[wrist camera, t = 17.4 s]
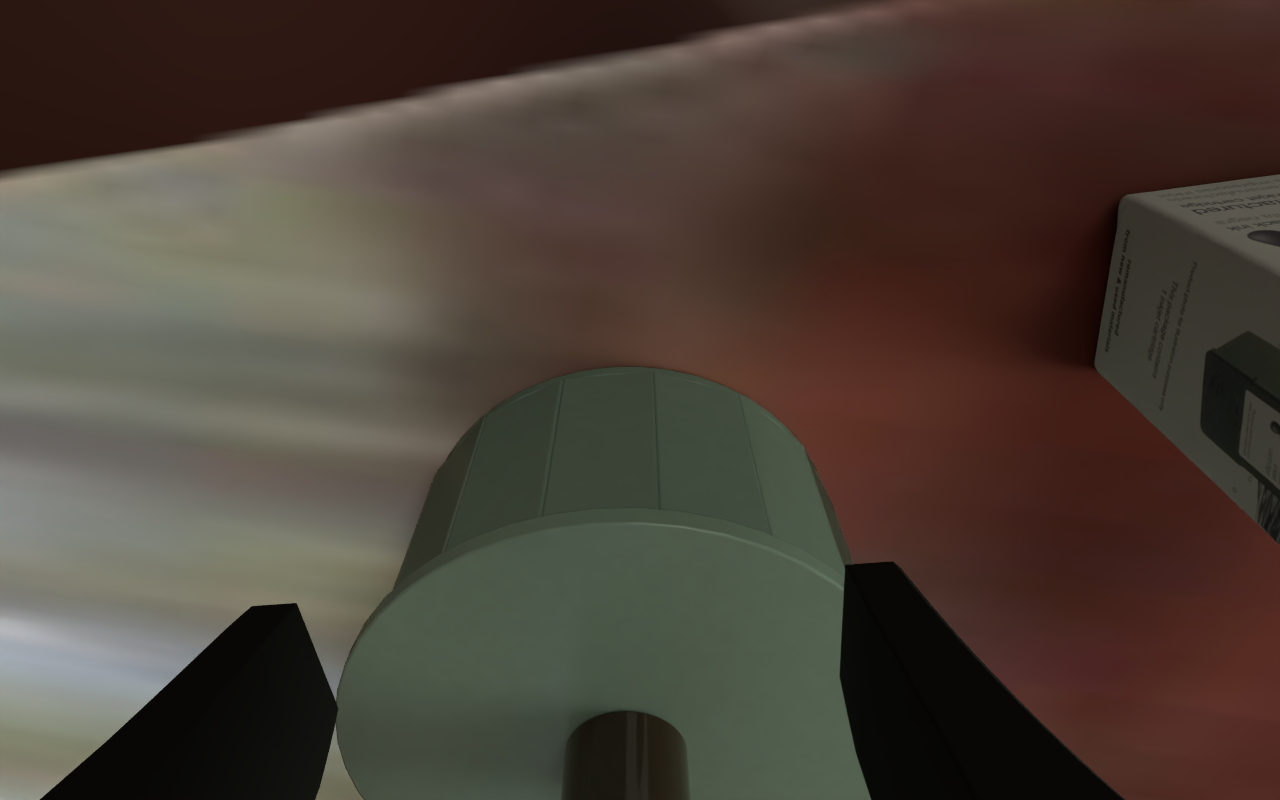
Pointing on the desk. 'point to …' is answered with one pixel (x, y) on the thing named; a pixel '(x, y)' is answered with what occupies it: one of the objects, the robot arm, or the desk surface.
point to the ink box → (1203, 330)
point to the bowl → (628, 462)
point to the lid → (604, 668)
